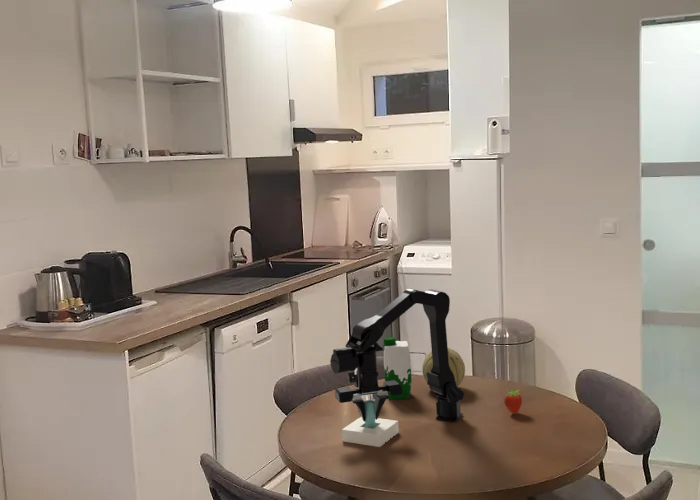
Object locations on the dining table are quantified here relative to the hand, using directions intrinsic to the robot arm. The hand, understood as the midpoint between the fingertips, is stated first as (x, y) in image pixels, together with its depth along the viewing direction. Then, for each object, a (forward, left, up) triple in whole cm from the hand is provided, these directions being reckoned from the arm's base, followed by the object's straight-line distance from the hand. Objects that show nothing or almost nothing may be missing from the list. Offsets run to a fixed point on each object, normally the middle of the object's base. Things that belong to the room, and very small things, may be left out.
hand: (370, 420), depth 214 cm
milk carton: (+9, -37, -5) cm, 38 cm away
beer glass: (+17, -29, -5) cm, 34 cm away
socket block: (0, 0, -5) cm, 5 cm away
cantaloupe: (-3, -48, -5) cm, 48 cm away
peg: (0, 0, -4) cm, 4 cm away
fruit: (-32, -33, -5) cm, 46 cm away
